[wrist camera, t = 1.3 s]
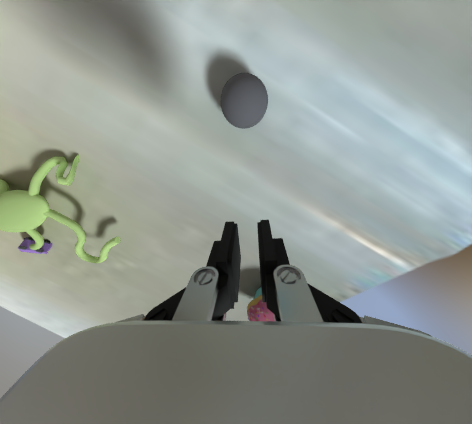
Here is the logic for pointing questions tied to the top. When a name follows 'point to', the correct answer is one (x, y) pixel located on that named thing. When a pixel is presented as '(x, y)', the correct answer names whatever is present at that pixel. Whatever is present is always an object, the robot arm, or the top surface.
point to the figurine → (42, 212)
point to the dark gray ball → (244, 100)
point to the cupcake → (259, 309)
